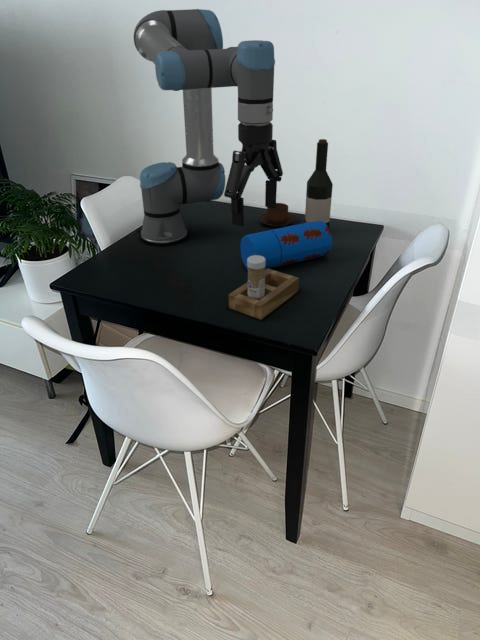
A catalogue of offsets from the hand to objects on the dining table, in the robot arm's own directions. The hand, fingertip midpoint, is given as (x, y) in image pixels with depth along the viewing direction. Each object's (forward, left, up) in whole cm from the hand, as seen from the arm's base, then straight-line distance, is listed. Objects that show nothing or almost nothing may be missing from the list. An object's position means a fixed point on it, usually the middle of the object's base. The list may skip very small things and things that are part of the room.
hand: (254, 215), depth 121 cm
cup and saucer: (-24, +49, -23) cm, 59 cm away
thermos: (+1, +35, -18) cm, 39 cm away
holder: (+2, +2, -23) cm, 23 cm away
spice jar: (+2, -2, -23) cm, 23 cm away
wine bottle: (-9, +50, -23) cm, 56 cm away
